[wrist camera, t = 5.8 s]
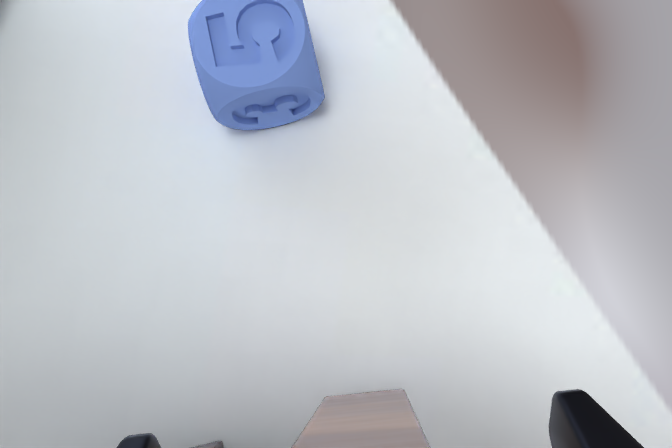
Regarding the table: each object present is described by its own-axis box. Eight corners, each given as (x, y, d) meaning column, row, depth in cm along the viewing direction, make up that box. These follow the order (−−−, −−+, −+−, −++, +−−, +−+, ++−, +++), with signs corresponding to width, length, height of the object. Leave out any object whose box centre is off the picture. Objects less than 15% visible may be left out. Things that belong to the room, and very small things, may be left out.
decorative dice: (210, 45, 25) (179, -7, 21) (307, 21, 25) (294, -35, 21) (228, 138, 24) (201, 103, 20) (328, 115, 24) (320, 74, 20)
